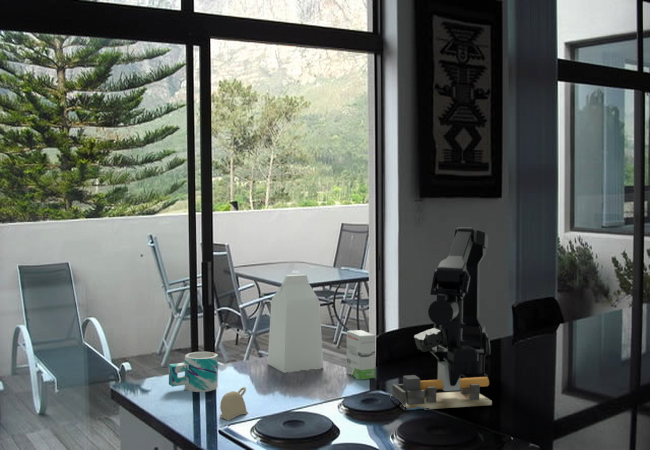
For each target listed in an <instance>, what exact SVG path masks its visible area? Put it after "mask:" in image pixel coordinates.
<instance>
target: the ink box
mask: <svg viewBox="0 0 650 450" xmlns="http://www.w3.org/2000/svg"><path fill="white" fill-rule="evenodd" d="M345 360H346V362H345V363H346V365H345V372H347V373H346V374H348V373H349V374H348V375H350V374H351V375H350V376H352V375H353V376H352V377H354V378H356V379H358V380H368V379H375V378H376V335H375V334H372V333H371V332H367V331H366V330H363V329H359V330H357V329H356V330H355V329H354V330H353V329H352V330H347V331H346V358H345Z"/></svg>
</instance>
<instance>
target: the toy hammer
mask: <svg viewBox="0 0 650 450" xmlns="http://www.w3.org/2000/svg"><path fill="white" fill-rule="evenodd" d="M402 384H403V390H405V391H406V392H407V391H414V390H427V387H433V386H435V387H436V390H443V391H444V392H455V391H461V388H466V387H470V384H479V385H480V388H481V387H488V386H489V385H490V380H489V377H488V376H487V377H475V378H465V377H463V378H462V377H461V376H460V377H459V379H458V381H457V383H456V385H455V386H451V385H450V379H449V368H448V363H447V362H438V361H437V379H429V380H428V379H427V380H425V379H424V380H421V379H420V377H418V376H417V375H416V374H414V375H413V374H411V375H410V374H409V375H403V376H402ZM443 391H442V392H443Z"/></svg>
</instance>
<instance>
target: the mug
mask: <svg viewBox="0 0 650 450" xmlns="http://www.w3.org/2000/svg"><path fill="white" fill-rule="evenodd" d="M178 372H184V375H178ZM218 379H219V355H218V354H217V353H215V352H211V351H194V352H189V353H186V354H185V355H184V362H179V363H169V364H168V385H169V386H171V387H172V388H173V387H178V386H184V390H187V391H188V392H196V393H204V392H205V393H206V392H211V391H216V390H217V388H218V386H219V385H218V384H219V383H218V381H219V380H218Z"/></svg>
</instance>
